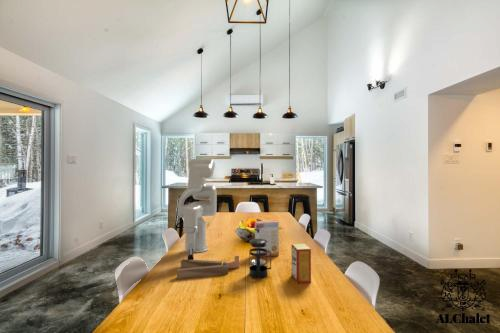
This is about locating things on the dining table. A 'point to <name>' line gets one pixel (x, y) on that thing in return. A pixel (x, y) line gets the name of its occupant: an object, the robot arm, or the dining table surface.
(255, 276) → the french press
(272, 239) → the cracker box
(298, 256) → the baking soda box
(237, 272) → the dining table surface
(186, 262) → the tongs jaw
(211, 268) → the tongs fixed jaw
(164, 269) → the dining table surface
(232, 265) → the tab
